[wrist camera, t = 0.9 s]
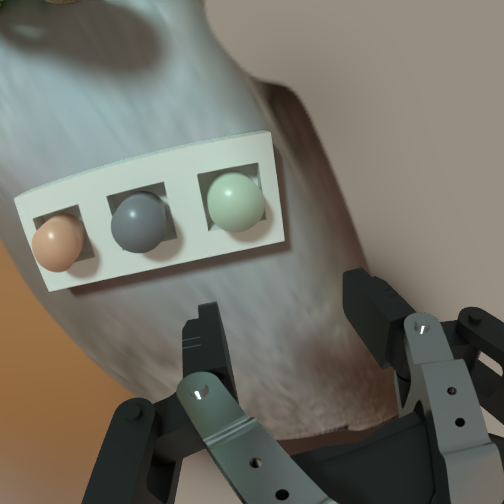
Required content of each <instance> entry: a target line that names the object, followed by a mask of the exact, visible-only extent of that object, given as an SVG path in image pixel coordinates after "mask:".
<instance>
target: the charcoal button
mask: <svg viewBox="0 0 504 504" xmlns="http://www.w3.org/2000/svg"><path fill="white" fill-rule="evenodd" d="M166 222H167V209H166V206H165V204H164V202H163V201H162V200H161V198H159V197H158V196H157V195H156V194H154V193H151V192H148V191H137V192H134V193H131V194H130V195H128V196H127V197H126V198H125V199H124V200H123V202H122V203H121V204H120V206H119V207H118V208H117V210H116V211H115V213H114V215H113V217H112V220H111V232H112V235H113V238H114V240H115V241H116V243H117V244H118V245H119V246H120V247H121V248H123V249H124V250H126V251H129V252H132V253H146V252H149V251H151V250H153V249H154V248H156V247H157V246H158V245H159V243H160V242H161V240H162V238H163V236H164V231H165V226H166Z"/></svg>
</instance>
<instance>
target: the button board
mask: <svg viewBox="0 0 504 504" xmlns="http://www.w3.org/2000/svg"><path fill="white" fill-rule="evenodd" d="M227 171H238V172H242V173H244V174H246V175H247V176H249V177H250V178H251V179H252V180H253V182H254V183H255V184H256V185H257V186H258V187H259V189H260V190H261V192H262V194H263V196H264V200H265V208H264V212H263V215H262V217H261V219H260V220H259V222H258V223H257V224H256V225H255V226H253V227H252V228H250V229H248V230H246V231H243V232H235V233H234V232H228V231H225V230H223V229H221V228H219V227H218V226H217V225H216V224H215V223H214V222H213V220H212V219H211V216H210V214H209V209H208V203H207V190H208V187H209V185H210V183H211V182H212V180H213V179H214V178H215V177H216V176H218V175H219V174H221V173H224V172H227ZM137 191H148V192H151V193H154V194H156V195H157V196H158V197H159V198H161V200H162V201H163V202H164V204H165V206H166V209H167V222H166V226H165V231H164V236H163V238H162V240H161V242H160V243H159V245H158V246H157V247H156V248H154V249H153V250H151V251H149V252H146V253H132V252H129V251H126V250H124V249H123V248H121V247H120V246H119V245H118V244H117V243H116V241H115V240H114V238H113V235H112V232H111V220H112V217H113V215H114V213H115V211H116V210H117V208H118V207H119V206H120V204H121V203H122V202H123V200H124V199H125V198H126V197H127V196H128V195H130V194H131V193H134V192H137ZM14 201H15V204H16V207H17V210H18V213H19V216H20V219H21V222H22V225H23V228H24V231H25V234H26V236H27V239H28V242H29V245H30V247H31V250H32V239H33V236H34V234H35V232H36V231H37V230H38V229H39V228H40V227H41V226H42V225H43V224H44V223H46V222H47V221H48V220H49V219H50V218H51V217H52V216H54V215H55V214H58V213H68V214H71V215H73V216H75V217H76V218H77V219H78V220H79V221H80V222H81V223H82V225H83V227H84V229H85V233H86V243H85V246H84V248H83V250H82V251H81V253H80V254H79V255H78V257H77V258H76V260H75V261H74V263H73V264H72V266H71V267H70V268H69V269H68V270H66V271H64V272H59V273H56V272H51V271H48V270H46V269H45V268H43V267H42V266H41V265H40V264H39V263H38V261H37V260H36V258H35V260H36V262H37V265H38V267H39V270H40V272H41V274H42V277H43V279H44V281H45V284H46V286H47V288H48V290H49V292H50V291H55V290H59V289H64V288H68V287H73V286H77V285H82V284H87V283H91V282H96V281H100V280H105V279H110V278H114V277H119V276H123V275H128V274H133V273H137V272H142V271H147V270H151V269H156V268H160V267H165V266H170V265H174V264H179V263H184V262H188V261H193V260H198V259H202V258H207V257H212V256H216V255H221V254H226V253H230V252H235V251H240V250H245V249H249V248H254V247H259V246H263V245H268V244H273V243H277V242H282V241H285V239H284V231H283V222H282V214H281V206H280V198H279V190H278V182H277V175H276V167H275V160H274V152H273V145H272V138H271V132H268V131H264V130H261V131H254V132H248V133H242V134H236V135H230V136H225V137H219V138H214V139H209V140H204V141H199V142H194V143H189V144H184V145H180V146H175V147H171V148H167V149H162V150H158V151H154V152H150V153H146V154H142V155H138V156H134V157H131V158H127V159H123V160H119V161H116V162H112V163H109V164H105V165H102V166H99V167H95V168H92V169H89V170H85V171H82V172H79V173H76V174H73V175H70V176H67V177H64V178H61V179H58V180H55V181H52V182H49V183H46V184H44V185H41V186H38V187H35V188H33V189H30V190H27V191H26V192H24V193H22V194H21V195H19V196H17V197H16V198H14ZM32 252H33V251H32ZM33 255H34V254H33ZM34 257H35V256H34Z"/></svg>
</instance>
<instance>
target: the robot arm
mask: <svg viewBox="0 0 504 504" xmlns="http://www.w3.org/2000/svg"><path fill="white" fill-rule="evenodd" d="M343 309H344V313H345V315H346V317H347V319H348V320H349V322H350V323H351V325H352V326H353V327H354V329H355V330H356V332H357V333H358V335H359V336H360V338H361V339H362V340H363V342H364V343H365V345H366V346H367V348H368V349H369V351H370V352H371V353H372V355H373V356H374V358H375V359H376V361H377V362H378V364H379V365H380V367H381V368H382V370H383V369H385V368H388V367H390V366H393V368H394V369H395V371H394V384H395V391H396V397H397V405H398V412H399V418H398V419H396V420H394V421H391V422H389V423H387V424H385V425H384V426H383V427H382V428H380V429H379V430H377V431H376V432H374V433H373V434H371V435H370V436H368V437H367V438H366V439H364V440H363V441H361V442H358V443H351V444H343V445H334V446H324V447H320V448H317V449H313V450H310V451H307V452H303V453H300V454H296V455H292V456H289V455H288V454H287V453H286V452H285V451H284V450H283V449H282V447H280V445H279V444H278V443H277V442H276V441H275V440H274V438H273V437H272V436H271V435H270V434H269V433H268V432H267V430H266V429H265V428H264V427H263V426H262V425H261V423H260V422H259V421H258V420H257V419H255V418H254V417H252V418H249V417H248V416H247V414H246V413H245V412H244V411H243V410H242V408H241V407H240V406H239V401H238V396H237V391H236V386H235V381H234V376H233V371H232V366H231V360H230V355H229V350H228V345H227V340H226V336H225V332H224V328H223V324H222V320H221V316H220V312H219V308H218V304H217V301H215V302H211V303H206V304H201V305H198V313H199V318H197V319H192V320H188V321H187V322H186V324H185V326H184V328H183V329H182V340H183V341H182V348H183V349H182V357H183V379H182V380H181V381H180V383H179V384H178V386H177V390H176V392H175V393H174V394H173V395H171V396H170V397H168V398H166V399H164V400H161V401H159V402H156V403H154V404H152V403H151V402H150V401H149V400H147V399H144V398H132V399H129V400H126V401H125V402H123V403H122V404H120V405H119V406H118V408H117V409H116V411H115V413H114V415H113V418H112V420H111V423H110V425H109V428H108V430H107V433H106V436H105V439H104V441H103V444H102V446H101V449H100V452H99V455H98V457H97V460H96V463H95V466H94V468H93V471H92V475H91V477H90V480H89V483H88V486H87V489H86V491H85V495H84V497H83V500H82V503H81V504H174V502H175V496H176V491H177V486H178V481H179V475H180V471H181V465H182V460H183V458H185V457H187V456H189V455H191V454H193V453H196V452H198V451H200V450H202V449H206V450H207V452H208V453H209V455H210V456H211V458H212V459H213V461H214V462H215V464H216V466H217V467H218V469H219V470H220V472H221V473H222V474H223V476H224V477H225V479H226V480H227V482H228V483H229V485H230V486H231V488H232V489H233V491H234V492H235V494H236V495H237V497H238V498H239V499H240V501H241V502H242V503H243V504H504V438H503V437H500V436H497V435H494V434H491V433H488V432H487V428H486V425H485V421H484V418H483V414H482V411H481V408H480V406H482V407H483V408H484V409H485V410H486V411H488V412H489V413H490V414H491V415H493V416H494V417H495V418H496V419H497V420H499V421H500V422H501V423H502V424H503V425H504V323H503V322H502V321H500V320H499V319H497V318H496V317H494V316H492V315H491V314H489V313H488V312H486V311H484V310H482V309H480V308H477V307H467V308H464V309H462V310H461V311H460V313H459V316H458V319H457V320H454V321H446V322H439V320H438V319H437V318H436V317H435V316H433V315H431V314H428V313H422V312H418V313H417V312H416V311H415V310H414V309H413V308H412V307H411V306H410V305H409V304H408V303H407V302H406V301H405V300H404V299H403V298H402V297H401V296H400V295H398V293H397V292H396V291H395V290H394V289H393V288H392V287H391V286H390V285H389V284H388V283H387V282H386V281H384V280H382V279H380V278H378V277H376V276H374V277H371V276H370V275H369V274H368V273H367V272H366V271H365V270H364V269H363V268H358V269H354V270H350V271H346V272H344V273H343ZM481 351H482V352H483V353H485V354H486V355H487V356H489V357H490V358H492V359H493V360H494V361H496V362H497V363H499V364H500V366H501V367H502V370H503V375H502V377H501V376H500V375H499V374H497V373H496V372H494V371H493V370H492V369H490V368H489V367H488V366H486V365H485V364H484V363H482V362H481V361H480V360H478V358H479V355H480V353H481Z"/></svg>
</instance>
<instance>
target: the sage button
mask: <svg viewBox="0 0 504 504" xmlns="http://www.w3.org/2000/svg"><path fill="white" fill-rule="evenodd" d="M207 203H208V209H209V214H210V216H211V219H212V220H213V222H214V223H215V224H216V225H217V226H218V227H219V228H221V229H223V230H225V231H228V232H234V233H235V232H243V231H246V230H248V229H250V228H252V227H253V226H255V225H256V224H257V223H258V222H259V220H260V219H261V217H262V215H263V212H264V208H265V200H264V196H263V194H262V192H261V190H260V189H259V187H258V186H257V185H256V184H255V183H254V182H253V180H252V179H251V178H250V177H249V176H247V175H246V174H244V173H242V172H238V171H227V172H224V173H221V174H219V175H218V176H216V177H215V178H214V179H213V180H212V182H211V183H210V185H209V187H208V190H207Z"/></svg>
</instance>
